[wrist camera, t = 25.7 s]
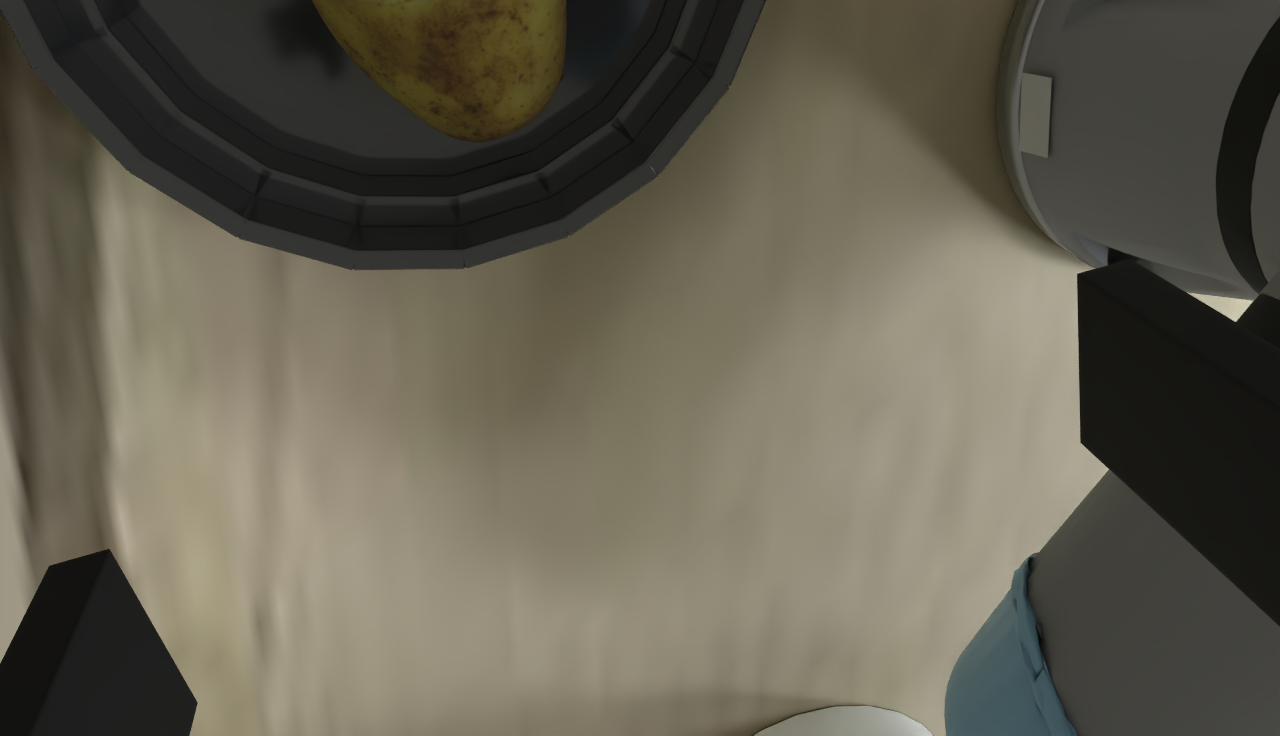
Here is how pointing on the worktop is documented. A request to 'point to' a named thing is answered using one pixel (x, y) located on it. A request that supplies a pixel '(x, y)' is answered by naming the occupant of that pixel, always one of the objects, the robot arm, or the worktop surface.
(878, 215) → the worktop surface
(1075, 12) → the robot arm
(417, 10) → the potato
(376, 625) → the worktop surface
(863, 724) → the honey pot
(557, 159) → the pan
